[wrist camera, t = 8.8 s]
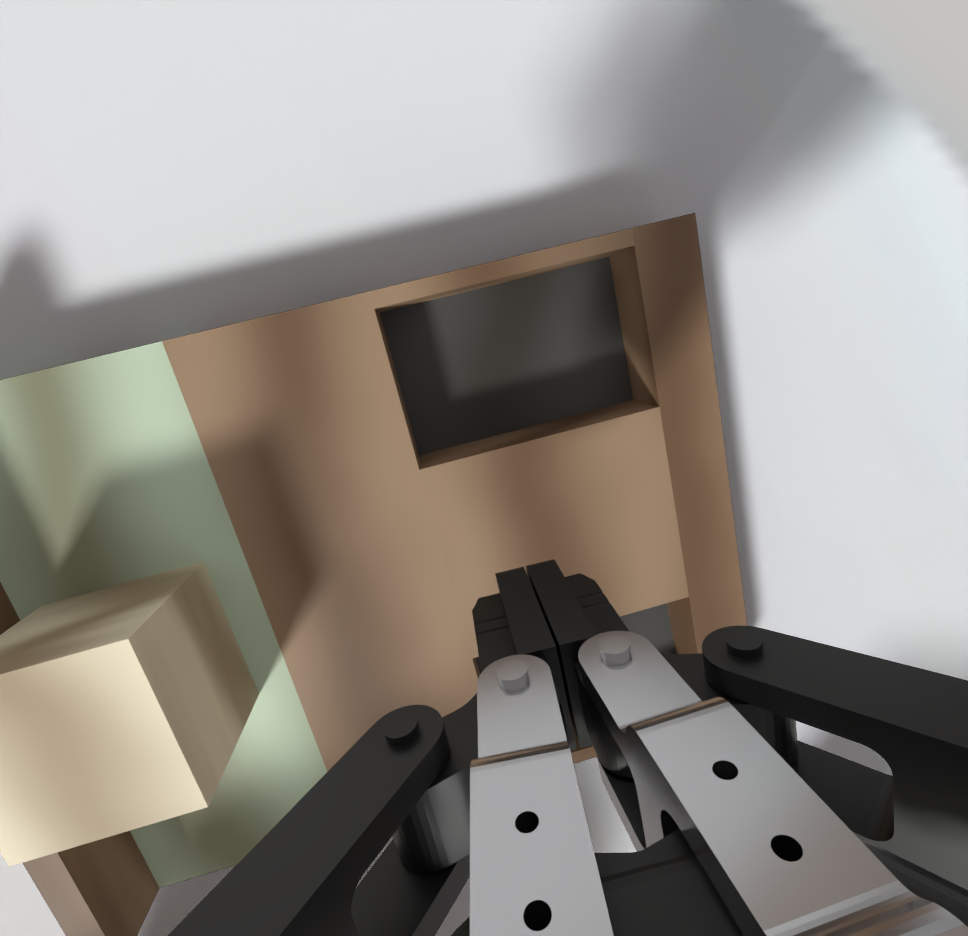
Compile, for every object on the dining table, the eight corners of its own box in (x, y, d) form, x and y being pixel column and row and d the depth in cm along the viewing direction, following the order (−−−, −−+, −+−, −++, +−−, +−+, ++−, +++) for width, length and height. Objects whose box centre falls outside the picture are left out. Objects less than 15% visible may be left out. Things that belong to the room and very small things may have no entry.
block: (203, 561, 17) (128, 638, 12) (258, 694, 18) (208, 806, 14) (41, 605, 16) (-94, 700, 12) (109, 737, 18) (9, 867, 13)
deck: (658, 229, 18) (744, 189, 14) (721, 669, 23) (802, 757, 18) (-53, 401, 17) (-240, 425, 12) (163, 834, 22) (90, 976, 17)
